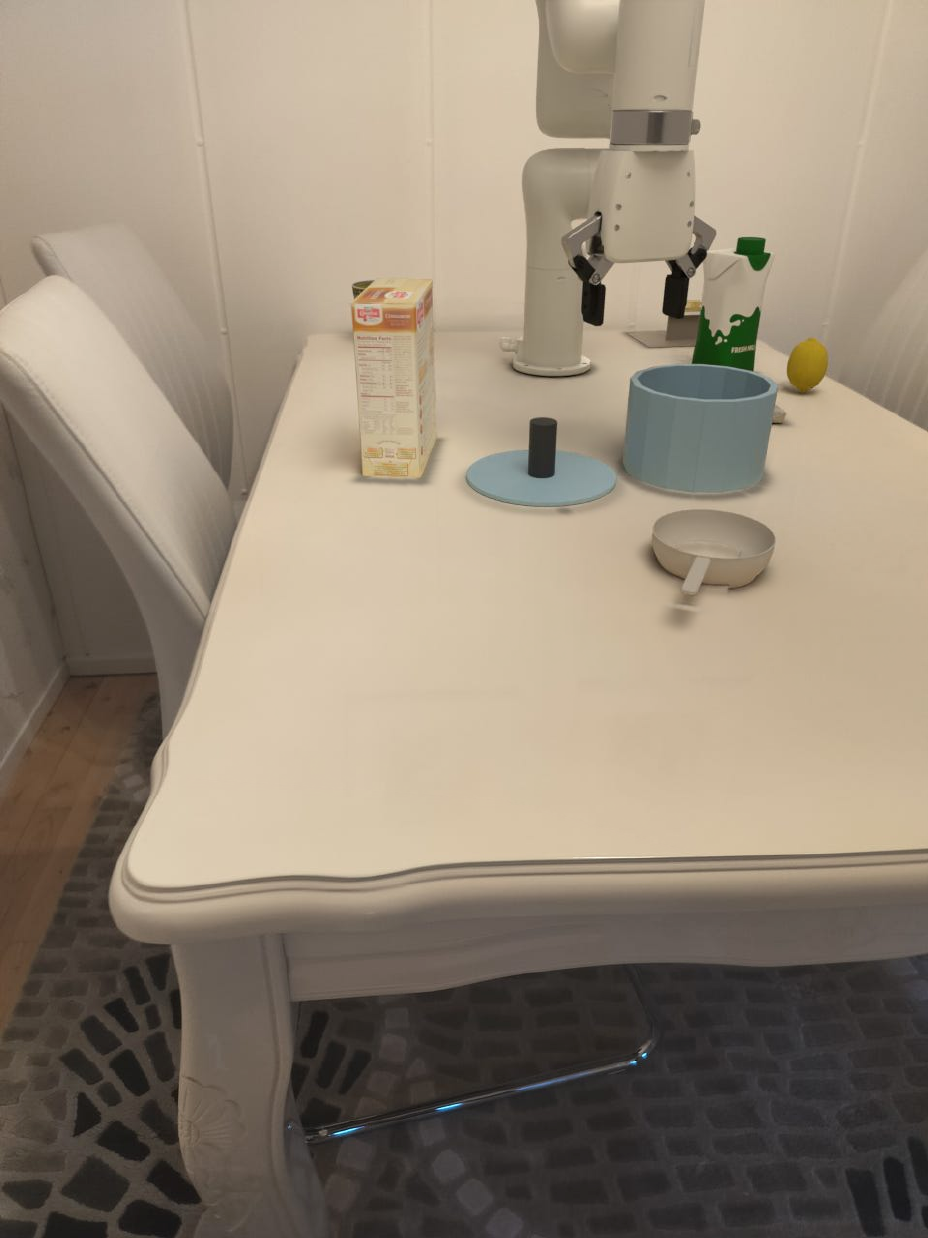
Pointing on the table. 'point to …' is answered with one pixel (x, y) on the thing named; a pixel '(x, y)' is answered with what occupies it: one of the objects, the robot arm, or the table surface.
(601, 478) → the blue pot lid
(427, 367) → the coffeecake box
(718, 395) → the bowl
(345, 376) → the table surface
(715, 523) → the saucepan
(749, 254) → the milk carton
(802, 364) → the lemon
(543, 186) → the robot arm
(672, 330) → the platform
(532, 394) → the table surface
